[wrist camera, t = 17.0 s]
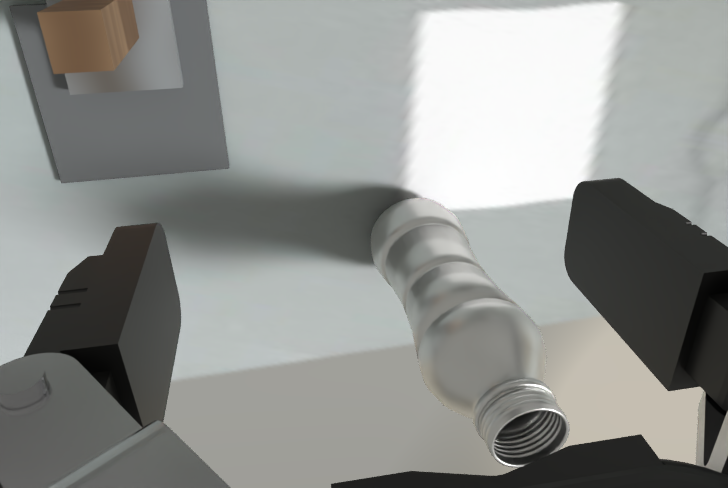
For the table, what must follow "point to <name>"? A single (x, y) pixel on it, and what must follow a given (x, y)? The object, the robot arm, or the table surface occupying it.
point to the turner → (112, 44)
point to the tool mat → (131, 109)
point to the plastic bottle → (469, 333)
